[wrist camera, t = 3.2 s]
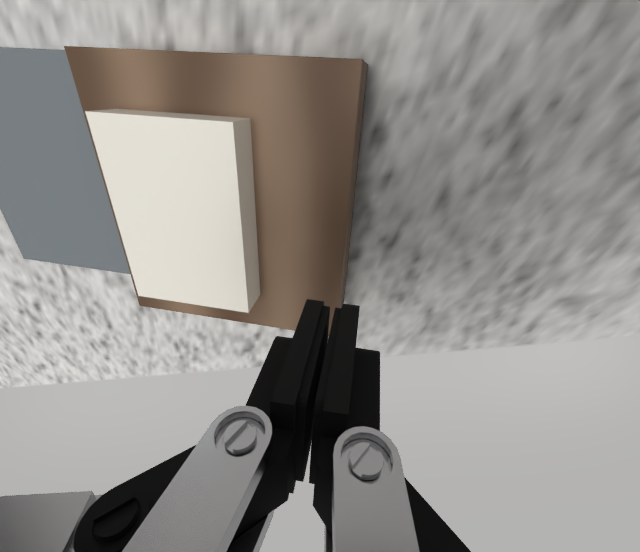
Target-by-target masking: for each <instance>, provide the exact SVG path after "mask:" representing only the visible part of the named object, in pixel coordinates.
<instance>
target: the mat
mask: <svg viewBox="0 0 640 552" xmlns="http://www.w3.org/2000/svg"><path fill="white" fill-rule="evenodd" d="M0 209H1V211H2V213H3V215H4V218H5V220H6V222H7V224H8V226H9V228H10V230H11V232H12V234H13V237H14V239H15V241H16V243H17V245H18V247H19V249H20V251H21V253H22V256H23V258H24V259H31V260H38V261H44V262H51V263H58V264H65V265H72V266H79V267H85V268H92V269H99V270H106V271H113V272H120V273H127V274H130V270H129V267H128V263H127V260H126V257H125V253H124V250H123V246H122V243H121V240H120V236H119V233H118V229H117V226H116V222H115V219H114V216H113V212H112V209H111V205H110V202H109V198H108V195H107V192H106V188H105V185H104V181H103V178H102V174H101V171H100V168H99V164H98V161H97V157H96V154H95V150H94V147H93V144H92V140H91V137H90V133H89V130H88V127H87V123H86V120H85V116H84V113H83V109H82V106H81V103H80V99H79V96H78V92H77V89H76V85H75V82H74V79H73V75H72V72H71V68H70V65H69V61H68V58H67V55H66V51H65V50H46V49H25V48H3V47H0Z"/></svg>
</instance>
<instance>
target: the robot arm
mask: <svg viewBox="0 0 640 552" xmlns="http://www.w3.org/2000/svg"><path fill="white" fill-rule="evenodd" d="M359 307H360V306H356V305H349V304H342V308H337V307H335V311H334V315H333V320H332V325H331V329H330V334H329V339H328V329H329V317H330V307H329V306H324V301H319V300H311V299H307V300H306V303H305V305H304V308H303V311H302V314H301V316H300V319H299V322H298V325H297V327H296V330H295V333H294V336H293V338H286V337H280V336H277V337H276V338H275V340H274V341H273V344H272V346H271V348H270V351H269V353H268V355H267V358H266V360H265V362H264V364H263V367H262V369H261V372H260V374H259V376H258V378H257V381H256V383H255V385H254V388H253V390H252V392H251V394H250V397H249V399H248V401H247V404H246V406H239V407H234V408H231V409H229V410H226V411H225V412H224V413H222V414H220V415H219V416H218V417H217V418H216V419H215V420H214V421H213V422H212V424H211V425H210V427H209V428H208V429H207V431H206V432H205V434H204V435H203V437H202V438H201V440H200V441H199V443H198V444H197V445H195V446H193V447H192V448H189V449H188V450H186V451H184V452H182V453H180V454H178V455H176V456H174V457H172V458H170V459H169V460H167V461H164V462H163V463H161V464H159V465H157V466H155V467H153V468H151V469H149V470H147V471H145V472H144V473H142V474H140V475H138V476H136V477H134V478H132V479H130V480H128V481H126V482H124V483H123V484H120V485H118V486H117V487H115V488H113V489H111V490H110V491H108V492H107V493H105V494H104V495H94V494H93V492H92V491H87V492H70V493H69V492H68V493H51V494H32V495H16V496H2V497H0V552H259V550H260V547H261V545H262V542H263V540H264V537H265V534H266V532H267V530H268V527H269V525H270V522H271V520H272V517H273V513H274V509H276V508H277V507H279V506H280V505H281V504H283V503H284V502H285V501H287V500H288V495H289V493H293V491H294V487H295V482H296V480H297V481H303V479H304V476H305V470H306V465H307V461H308V455H309V451H310V446H311V460H310V477H309V483H312V484H315V486H314V500H313V506H314V508H315V510H316V511H317V513H318V514H319V516H320V518H321V519H322V521H323V522H324V524H325V552H471V551H470V550H469V549H468V548H467V547H466V546H465V544H464V543H463V542H462V541H461V540H460V539H459V538H458V537H457V535H456V534H455V533H454V532H453V531H452V530H451V529H450V528H449V527H448V525H447V524H446V523H445V522H444V521H443V520H442V519H441V518H440V517H439V516H438V514H437V513H436V512H435V511H434V510H433V509H432V507H431V506H430V505H429V504H428V503H427V502H426V501H425V500H424V498H422V496H421V495H420V494H419V493H418V492H417V491H416V490H415V489H414V487H413V486H412V485H411V484H410V483H409V482H408V481H407V480H406V478H405V477H404V473H403V469H402V464H401V459H400V456H399V453H398V450H397V448H396V446H395V445H394V443H393V442H392V441H391V439H390V438H388V437H387V436H386V435H385V434H383V433H382V432H380V352H379V351H374V350H367V349H360V348H355V347H356V337H357V327H358V317H359ZM327 342H328V343H327ZM311 441H312V445H311Z"/></svg>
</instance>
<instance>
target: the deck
mask: <svg viewBox="0 0 640 552" xmlns="http://www.w3.org/2000/svg"><path fill="white" fill-rule="evenodd" d="M64 48H65V51H66V55H67V58H68V61H69V65H70V68H71V72H72V75H73V79H74V82H75V85H76V89H77V92H78V96H79V99H80V103H81V106H82V109H83V113H84V116H85V120H86V123H87V127H88V130H89V133H90V137H91V140H92V144H93V147H94V150H95V154H96V157H97V161H98V164H99V168H100V171H101V174H102V178H103V181H104V185H105V188H106V192H107V195H108V198H109V202H110V205H111V209H112V212H113V216H114V219H115V222H116V226H117V229H118V233H119V236H120V240H121V243H122V246H123V250H124V253H125V257H126V260H127V263H128V267H129V270H130V274H131V277H132V281H133V284H134V287H135V291H136V294H137V298H138V301H139V305H140V306H146V307H152V308H158V309H164V310H171V311H177V312H183V313H189V314H196V315H202V316H208V317H214V318H221V319H227V320H233V321H239V322H246V323H252V324H258V325H264V326H271V327H277V328H283V329H289V330H296V327H297V325H298V322H299V319H300V316H301V314H302V311H303V308H304V305H305V303H306V300H307V299H311V300H319V301H324V306H329V307H330V317H329V329H328V336H329V334H330V329H331V325H332V320H333V315H334V311H335V307H337V308H342V304H343V303H344V293H345V284H346V274H347V264H348V254H349V244H350V235H351V225H352V215H353V205H354V195H355V186H356V176H357V166H358V156H359V146H360V137H361V127H362V117H363V107H364V98H365V88H366V78H367V68H368V64H367V63H366V62H365V61H364V60H363V59H346V58H323V57H300V56H277V55H255V54H232V53H209V52H186V51H163V50H140V49H117V48H94V47H71V46H64ZM107 109H129V110H143V111H157V112H171V113H185V114H199V115H213V116H227V117H241V118H250V123H251V140H252V158H253V175H254V192H255V210H256V227H257V245H258V262H259V280H260V295H259V297H258V299H257V300H256V302H255V303H254V305H253V307H252V308H251V310H250V311H249V313H246V312H239V311H233V310H227V309H220V308H214V307H207V306H201V305H194V304H188V303H182V302H175V301H169V300H162V299H156V298H149V297H143V296H138V293H137V289H136V286H135V282H134V279H133V275H132V272H131V268H130V265H129V261H128V258H127V255H126V251H125V248H124V244H123V241H122V237H121V234H120V230H119V227H118V223H117V220H116V217H115V213H114V210H113V206H112V203H111V199H110V196H109V192H108V189H107V185H106V182H105V178H104V175H103V172H102V168H101V165H100V161H99V158H98V154H97V151H96V147H95V144H94V140H93V137H92V134H91V130H90V127H89V123H88V120H87V116H86V113H85V111H95V110H107Z"/></svg>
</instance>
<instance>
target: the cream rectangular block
mask: <svg viewBox="0 0 640 552" xmlns="http://www.w3.org/2000/svg"><path fill="white" fill-rule="evenodd" d="M85 113H86V116H87V120H88V123H89V127H90V130H91V134H92V137H93V140H94V144H95V147H96V151H97V154H98V158H99V161H100V165H101V168H102V172H103V175H104V178H105V182H106V185H107V189H108V192H109V196H110V199H111V203H112V206H113V210H114V213H115V217H116V220H117V223H118V227H119V230H120V234H121V237H122V241H123V244H124V248H125V251H126V255H127V258H128V261H129V265H130V268H131V272H132V275H133V279H134V282H135V286H136V289H137V293H138V296H143V297H149V298H156V299H162V300H169V301H175V302H182V303H188V304H194V305H201V306H207V307H214V308H220V309H227V310H233V311H239V312H246V313H249V311H250V310H251V308H252V307H253V305H254V303H255V302H256V300H257V299H258V297H259V295H260V280H259V262H258V245H257V227H256V210H255V192H254V175H253V158H252V140H251V123H250V118H241V117H227V116H213V115H199V114H185V113H171V112H157V111H143V110H129V109H107V110H95V111H85Z"/></svg>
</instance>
